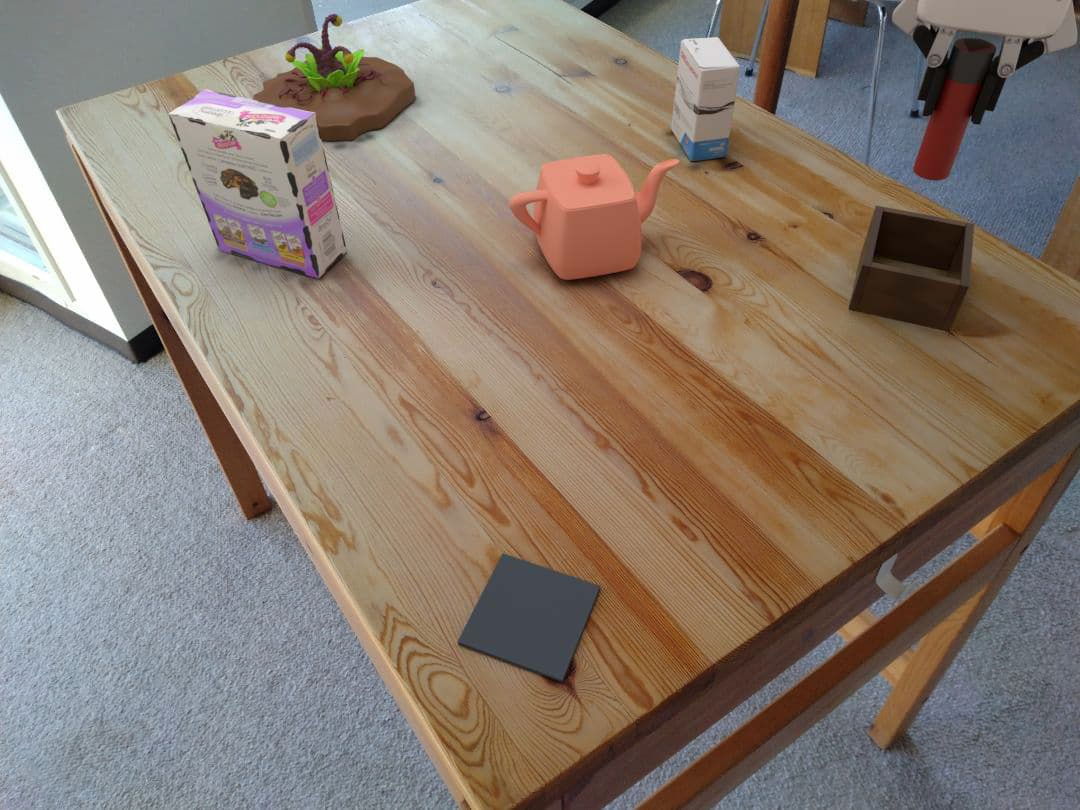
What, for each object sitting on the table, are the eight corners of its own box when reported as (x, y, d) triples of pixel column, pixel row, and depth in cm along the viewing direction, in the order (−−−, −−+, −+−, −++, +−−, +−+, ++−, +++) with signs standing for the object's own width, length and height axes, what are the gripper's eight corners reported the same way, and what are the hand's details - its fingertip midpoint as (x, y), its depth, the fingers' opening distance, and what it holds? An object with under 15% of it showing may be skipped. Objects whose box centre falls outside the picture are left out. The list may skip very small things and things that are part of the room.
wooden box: (956, 267, 89) (974, 223, 85) (949, 331, 82) (969, 286, 78) (862, 248, 92) (875, 205, 88) (848, 309, 85) (862, 264, 81)
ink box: (728, 158, 105) (743, 65, 96) (689, 162, 104) (701, 69, 96) (706, 124, 111) (718, 34, 102) (669, 129, 110) (678, 38, 102)
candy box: (350, 251, 93) (318, 110, 81) (318, 282, 89) (281, 139, 78) (249, 222, 97) (205, 84, 85) (215, 250, 94) (164, 111, 82)
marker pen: (951, 166, 74) (997, 40, 66) (948, 184, 72) (995, 57, 64) (914, 159, 75) (955, 35, 67) (910, 177, 73) (952, 51, 65)
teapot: (501, 233, 95) (495, 149, 87) (653, 208, 98) (661, 125, 90) (525, 296, 87) (521, 210, 80) (689, 267, 90) (701, 181, 82)
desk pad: (600, 588, 63) (600, 585, 63) (562, 683, 58) (562, 680, 58) (502, 555, 66) (502, 552, 65) (457, 644, 60) (457, 641, 60)
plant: (440, 93, 118) (431, 10, 110) (341, 154, 107) (323, 67, 99) (338, 58, 126) (323, -21, 118) (236, 111, 116) (211, 28, 107)
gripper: (1176, -150, 57) (1059, 108, 70) (919, -169, 61) (855, 78, 75) (1187, -119, 52) (1060, 152, 65) (908, -141, 56) (842, 117, 70)
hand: (952, 110), depth 70 cm, fingers closed on marker pen, 3 cm apart
